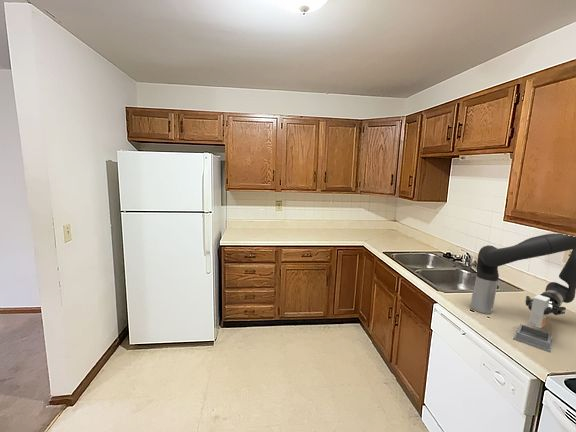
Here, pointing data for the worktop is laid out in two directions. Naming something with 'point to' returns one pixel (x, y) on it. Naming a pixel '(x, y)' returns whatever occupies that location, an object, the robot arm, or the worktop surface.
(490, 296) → the robot arm
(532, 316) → the skincare box
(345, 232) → the worktop surface
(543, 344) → the square gray tray
